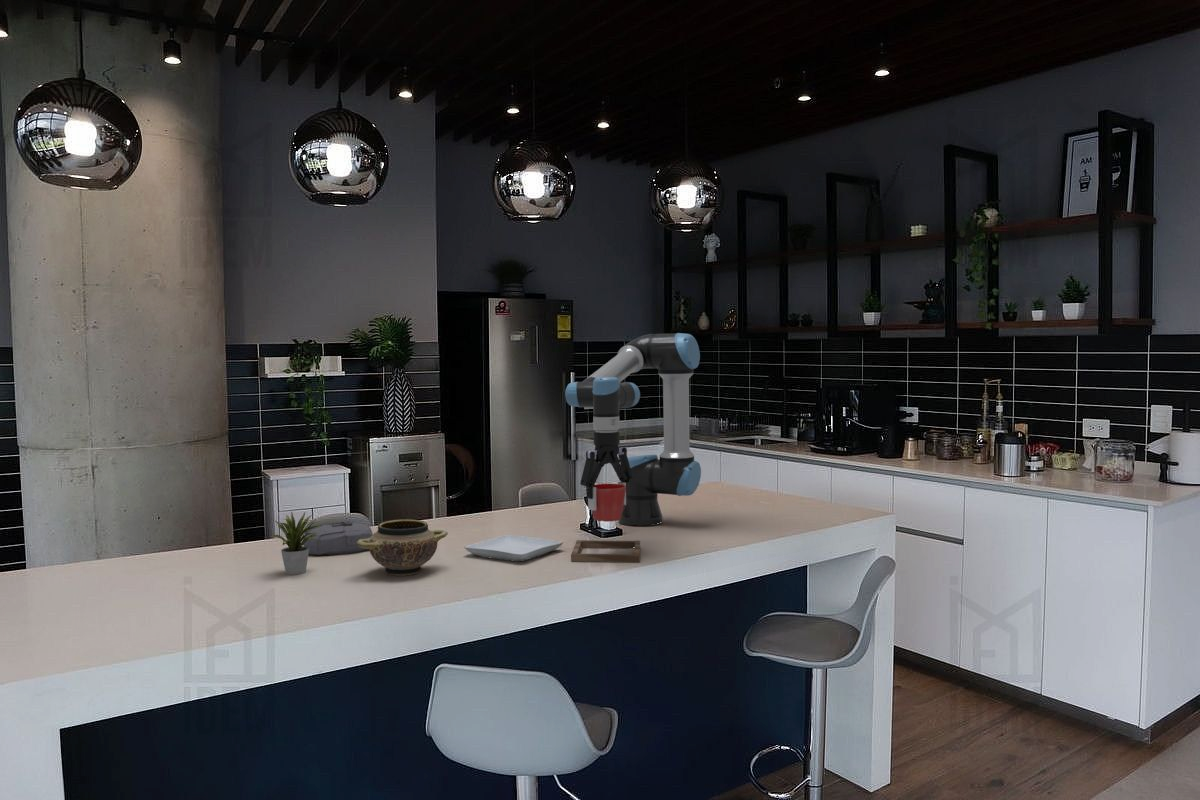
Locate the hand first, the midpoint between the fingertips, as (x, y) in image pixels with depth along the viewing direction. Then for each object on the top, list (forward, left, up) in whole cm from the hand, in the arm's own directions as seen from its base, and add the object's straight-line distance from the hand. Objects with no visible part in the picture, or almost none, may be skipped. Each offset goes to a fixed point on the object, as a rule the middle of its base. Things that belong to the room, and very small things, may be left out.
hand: (607, 507), depth 250 cm
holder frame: (0, 0, -14) cm, 14 cm away
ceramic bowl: (+23, -53, -14) cm, 60 cm away
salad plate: (0, -27, -14) cm, 31 cm away
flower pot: (0, 0, -4) cm, 4 cm away
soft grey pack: (-1, -80, -14) cm, 81 cm away
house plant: (+26, -81, -14) cm, 86 cm away
